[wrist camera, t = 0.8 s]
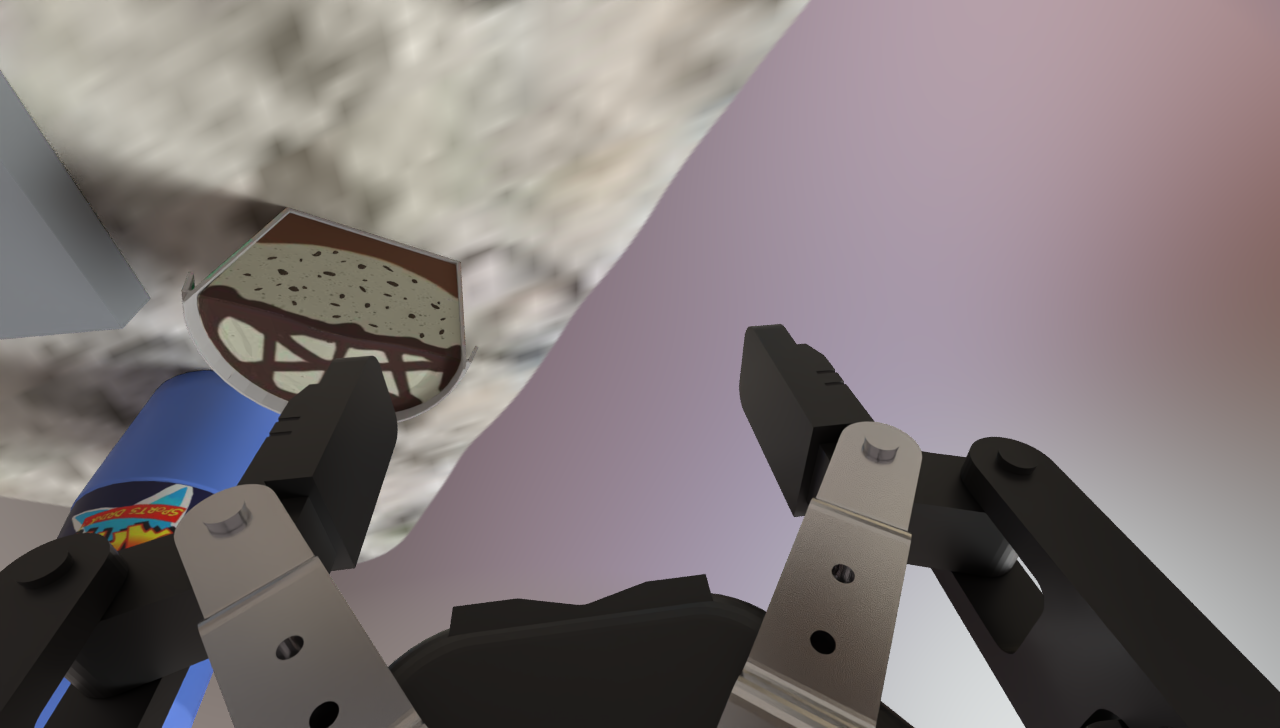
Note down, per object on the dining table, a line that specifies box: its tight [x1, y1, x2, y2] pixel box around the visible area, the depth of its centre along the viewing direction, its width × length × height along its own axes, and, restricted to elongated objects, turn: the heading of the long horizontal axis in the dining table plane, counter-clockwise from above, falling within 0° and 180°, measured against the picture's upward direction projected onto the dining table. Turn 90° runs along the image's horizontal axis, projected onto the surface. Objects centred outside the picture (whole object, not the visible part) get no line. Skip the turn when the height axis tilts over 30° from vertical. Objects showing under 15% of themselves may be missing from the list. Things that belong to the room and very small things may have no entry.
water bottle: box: [34, 370, 281, 728], centre depth 29 cm, size 9×9×25 cm
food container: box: [182, 207, 478, 423], centre depth 30 cm, size 12×6×10 cm, turn 63°
